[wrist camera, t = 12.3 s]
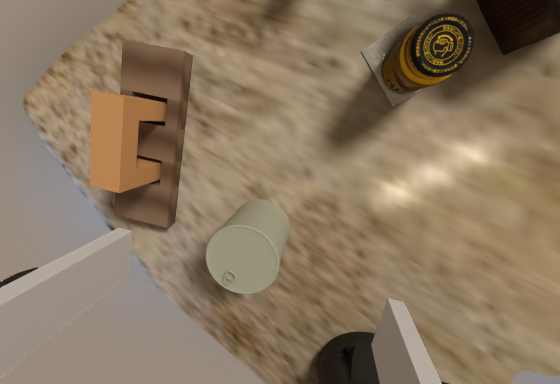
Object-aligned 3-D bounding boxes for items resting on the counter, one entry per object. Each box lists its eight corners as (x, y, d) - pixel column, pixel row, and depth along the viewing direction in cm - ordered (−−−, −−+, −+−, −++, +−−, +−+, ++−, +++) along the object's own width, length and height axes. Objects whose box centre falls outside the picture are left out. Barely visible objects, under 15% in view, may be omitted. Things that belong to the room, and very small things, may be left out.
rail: (174, 222, 46) (166, 227, 44) (125, 209, 47) (114, 214, 45) (192, 55, 39) (184, 51, 37) (134, 44, 40) (122, 39, 38)
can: (223, 233, 45) (190, 269, 34) (251, 187, 43) (226, 210, 31) (270, 263, 45) (253, 310, 34) (301, 220, 43) (294, 255, 31)
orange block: (164, 177, 44) (119, 193, 34) (142, 172, 45) (89, 185, 35) (171, 103, 41) (123, 97, 31) (147, 98, 42) (91, 90, 32)
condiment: (392, 107, 37) (424, 99, 26) (361, 51, 36) (379, 17, 25) (445, 74, 35) (505, 50, 24) (413, 14, 34) (460, -41, 23)
